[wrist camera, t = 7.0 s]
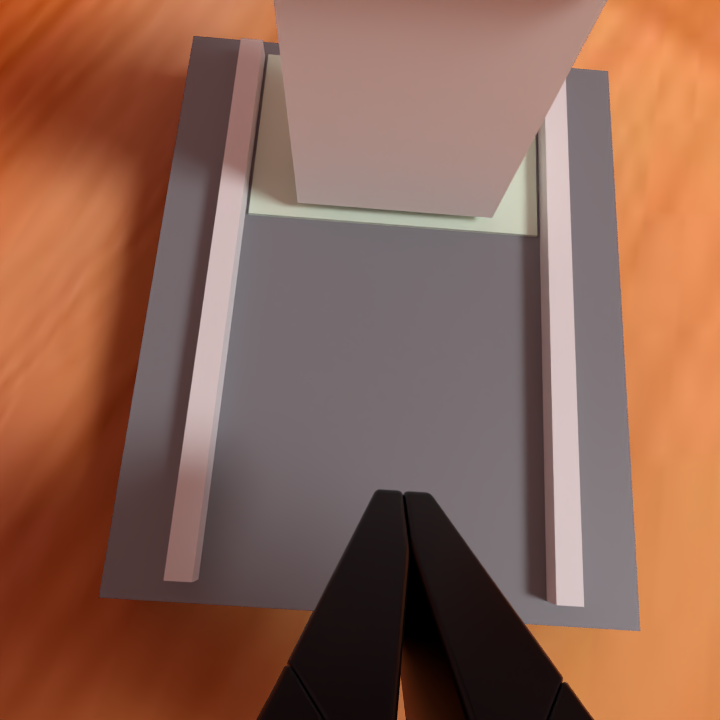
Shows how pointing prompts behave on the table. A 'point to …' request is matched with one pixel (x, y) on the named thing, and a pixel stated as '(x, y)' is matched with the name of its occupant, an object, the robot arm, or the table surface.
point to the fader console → (376, 368)
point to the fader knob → (421, 96)
